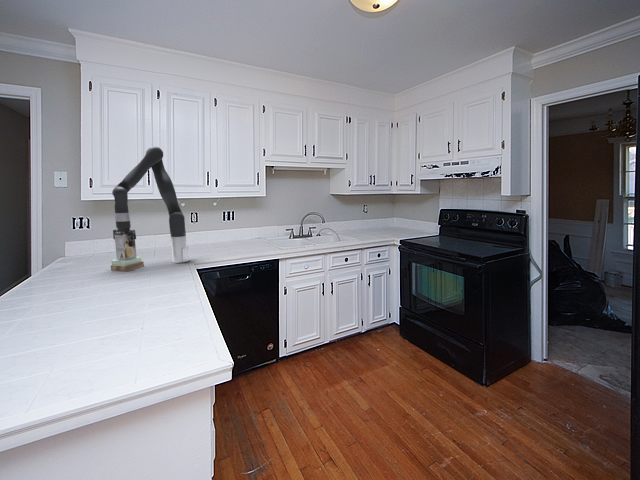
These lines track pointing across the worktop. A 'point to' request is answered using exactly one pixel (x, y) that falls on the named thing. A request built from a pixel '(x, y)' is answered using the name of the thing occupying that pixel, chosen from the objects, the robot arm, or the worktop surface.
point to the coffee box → (124, 247)
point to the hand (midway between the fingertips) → (125, 246)
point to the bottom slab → (127, 267)
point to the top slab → (126, 261)
